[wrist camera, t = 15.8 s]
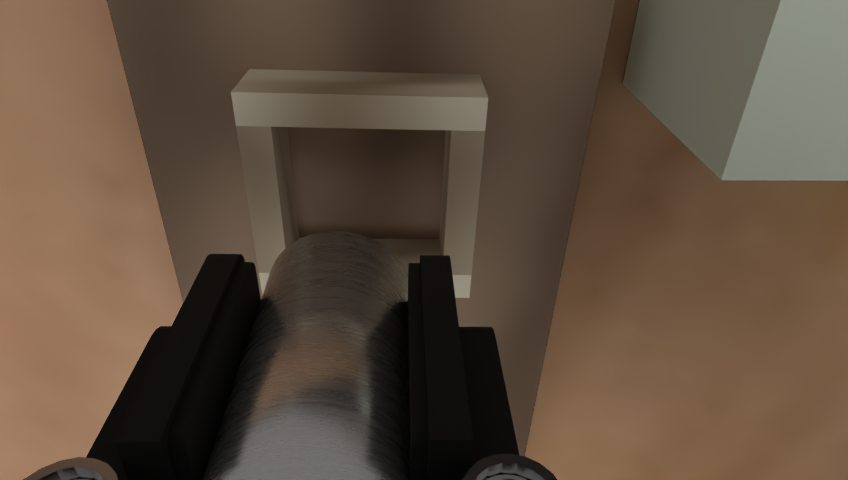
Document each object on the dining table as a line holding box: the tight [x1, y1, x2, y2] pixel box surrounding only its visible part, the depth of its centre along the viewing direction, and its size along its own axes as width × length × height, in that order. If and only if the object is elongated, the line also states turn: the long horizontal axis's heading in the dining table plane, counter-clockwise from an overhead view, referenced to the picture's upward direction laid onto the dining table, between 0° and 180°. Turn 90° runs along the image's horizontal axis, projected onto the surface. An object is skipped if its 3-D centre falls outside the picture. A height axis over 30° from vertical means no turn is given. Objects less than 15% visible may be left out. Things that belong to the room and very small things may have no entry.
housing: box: [623, 0, 848, 181], centre depth 12 cm, size 5×5×6 cm
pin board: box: [107, 0, 616, 456], centre depth 17 cm, size 12×20×7 cm, turn 178°
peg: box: [202, 231, 410, 480], centre depth 8 cm, size 3×3×7 cm
